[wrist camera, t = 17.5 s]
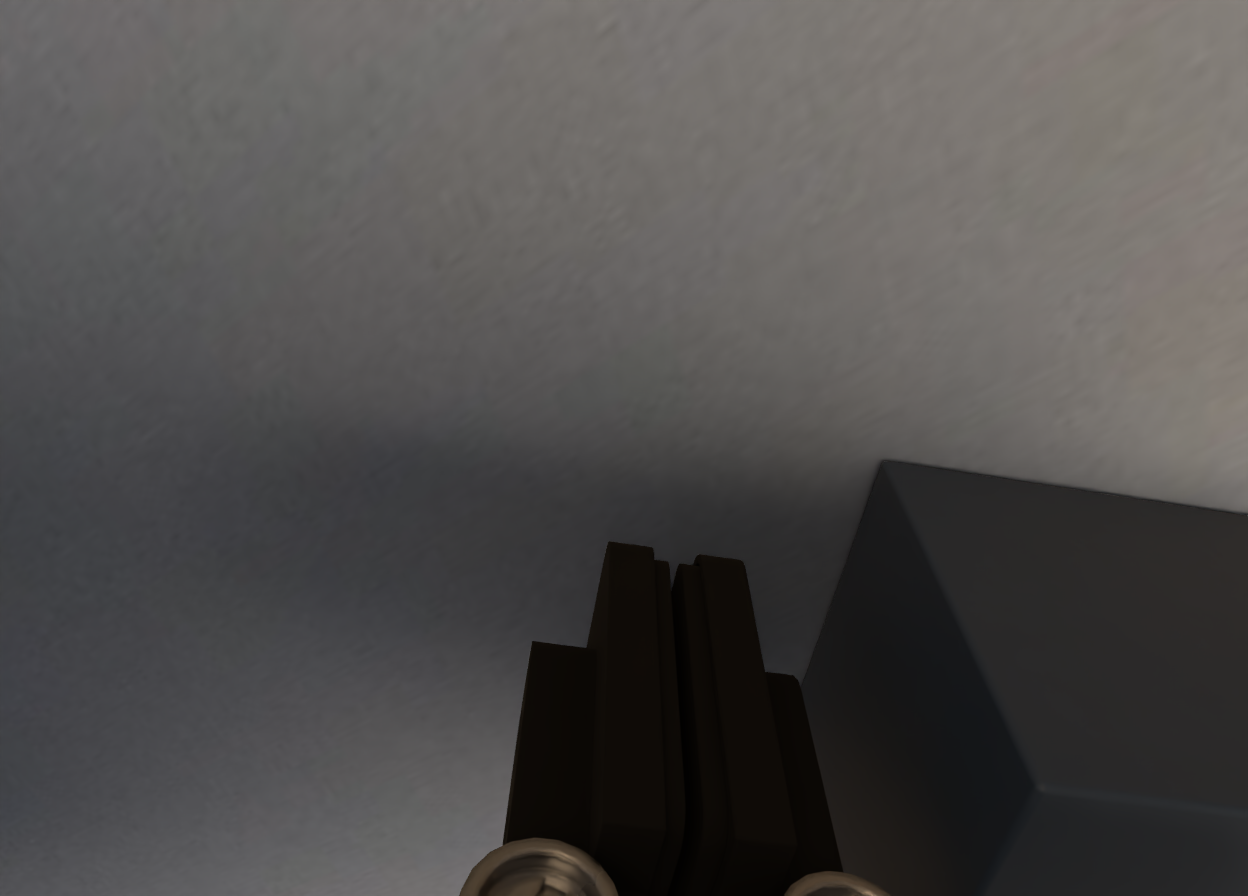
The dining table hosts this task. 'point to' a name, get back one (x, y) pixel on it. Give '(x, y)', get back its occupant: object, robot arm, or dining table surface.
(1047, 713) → the slate block
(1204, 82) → the dining table surface
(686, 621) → the robot arm
